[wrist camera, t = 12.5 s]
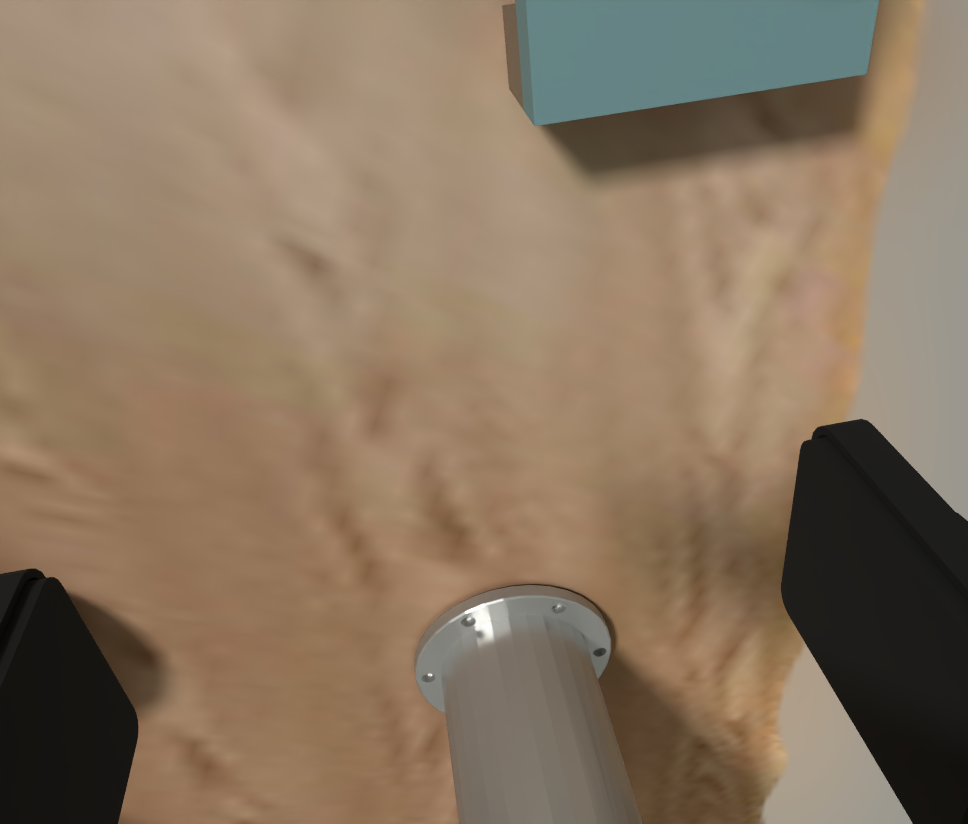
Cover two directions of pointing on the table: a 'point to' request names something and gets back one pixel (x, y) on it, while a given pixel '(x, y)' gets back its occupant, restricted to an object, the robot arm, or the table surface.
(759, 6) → the hole bridge
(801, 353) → the table surface
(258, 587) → the table surface
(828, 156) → the table surface
